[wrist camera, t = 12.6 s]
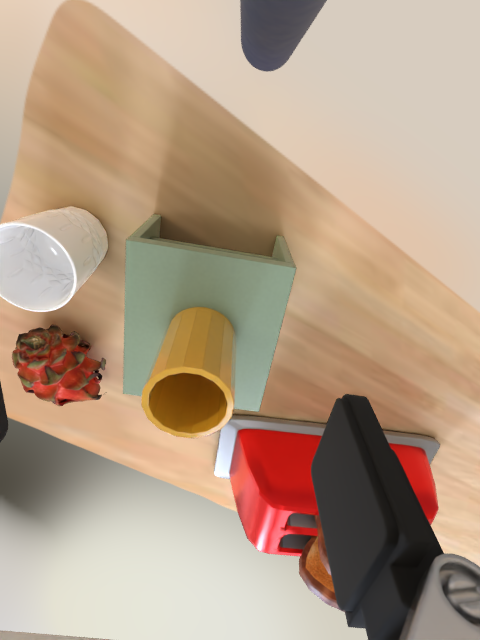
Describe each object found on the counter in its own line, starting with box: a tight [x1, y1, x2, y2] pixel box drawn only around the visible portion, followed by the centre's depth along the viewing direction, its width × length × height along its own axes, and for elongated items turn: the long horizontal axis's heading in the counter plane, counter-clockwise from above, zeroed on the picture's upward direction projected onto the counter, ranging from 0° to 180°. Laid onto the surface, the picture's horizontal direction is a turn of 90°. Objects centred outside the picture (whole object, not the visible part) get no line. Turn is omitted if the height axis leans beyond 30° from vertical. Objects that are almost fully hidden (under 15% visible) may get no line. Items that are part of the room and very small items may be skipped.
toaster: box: [214, 415, 440, 612], centre depth 46 cm, size 32×13×19 cm, turn 82°
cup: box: [141, 307, 236, 438], centre depth 29 cm, size 6×6×9 cm
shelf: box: [123, 214, 296, 412], centre depth 37 cm, size 16×14×10 cm
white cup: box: [0, 206, 108, 312], centre depth 34 cm, size 8×8×10 cm
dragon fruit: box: [12, 325, 107, 406], centre depth 42 cm, size 8×8×12 cm
